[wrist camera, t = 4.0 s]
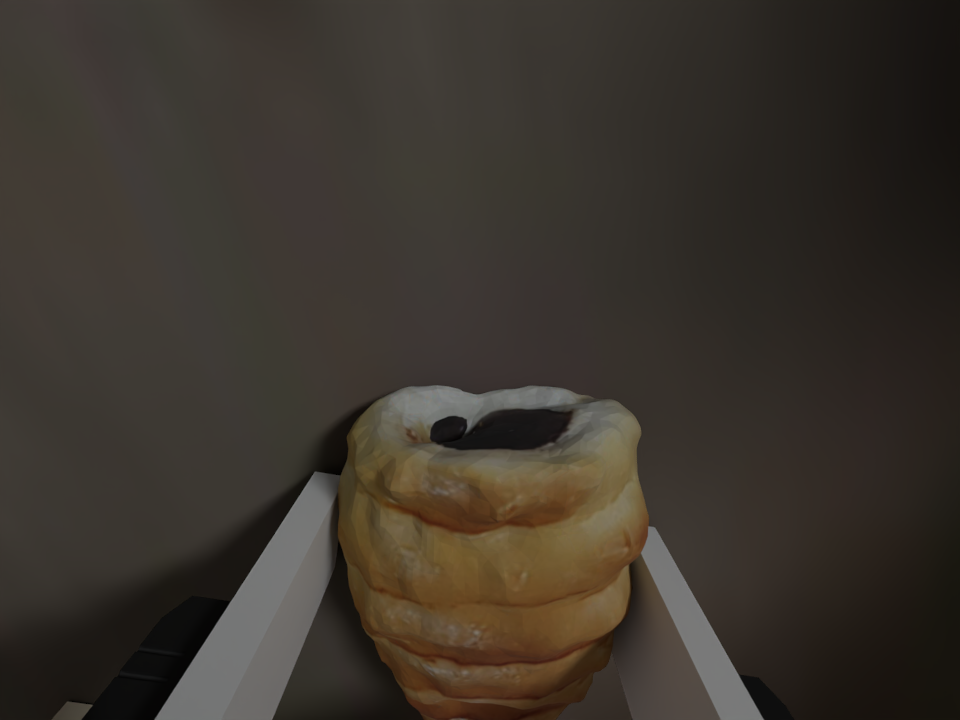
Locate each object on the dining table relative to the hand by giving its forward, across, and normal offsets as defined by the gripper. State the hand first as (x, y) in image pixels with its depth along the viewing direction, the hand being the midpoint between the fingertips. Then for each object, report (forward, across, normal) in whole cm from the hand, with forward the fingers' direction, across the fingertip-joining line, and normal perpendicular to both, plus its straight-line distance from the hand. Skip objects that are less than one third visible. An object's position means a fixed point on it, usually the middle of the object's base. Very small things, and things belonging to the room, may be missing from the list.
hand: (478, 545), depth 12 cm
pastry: (+1, 0, +1) cm, 1 cm away
